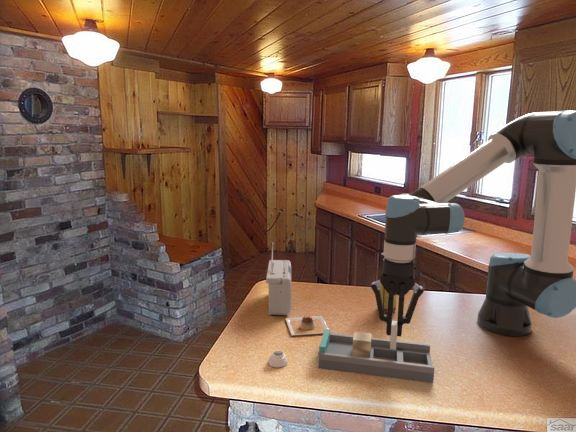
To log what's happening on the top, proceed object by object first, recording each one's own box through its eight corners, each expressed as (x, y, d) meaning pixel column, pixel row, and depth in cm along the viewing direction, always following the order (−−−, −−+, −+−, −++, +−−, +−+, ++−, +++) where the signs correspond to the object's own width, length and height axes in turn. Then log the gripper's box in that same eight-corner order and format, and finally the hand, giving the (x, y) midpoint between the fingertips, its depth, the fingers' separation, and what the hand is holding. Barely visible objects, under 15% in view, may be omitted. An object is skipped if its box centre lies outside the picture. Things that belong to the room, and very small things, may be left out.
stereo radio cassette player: (291, 317, 140) (291, 258, 136) (265, 317, 140) (265, 258, 136) (291, 293, 160) (291, 241, 156) (269, 293, 160) (269, 241, 156)
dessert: (331, 336, 128) (331, 321, 127) (291, 338, 126) (291, 323, 125) (321, 319, 140) (321, 305, 139) (285, 321, 138) (285, 307, 137)
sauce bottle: (398, 309, 146) (401, 252, 142) (392, 315, 141) (395, 257, 137) (379, 305, 150) (382, 249, 146) (373, 311, 145) (375, 254, 141)
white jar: (277, 356, 116) (264, 364, 112) (277, 346, 115) (264, 353, 111) (291, 363, 113) (278, 371, 109) (291, 352, 112) (278, 360, 108)
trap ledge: (428, 357, 115) (430, 338, 114) (433, 382, 104) (434, 362, 103) (325, 345, 121) (325, 327, 120) (318, 368, 110) (318, 348, 109)
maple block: (370, 349, 114) (371, 333, 114) (370, 357, 110) (370, 341, 109) (353, 347, 115) (354, 331, 115) (352, 355, 111) (353, 339, 110)
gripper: (425, 256, 108) (418, 342, 113) (372, 252, 111) (367, 337, 115) (427, 265, 101) (420, 357, 105) (371, 260, 104) (366, 350, 108)
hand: (392, 346), depth 110 cm, fingers closed
